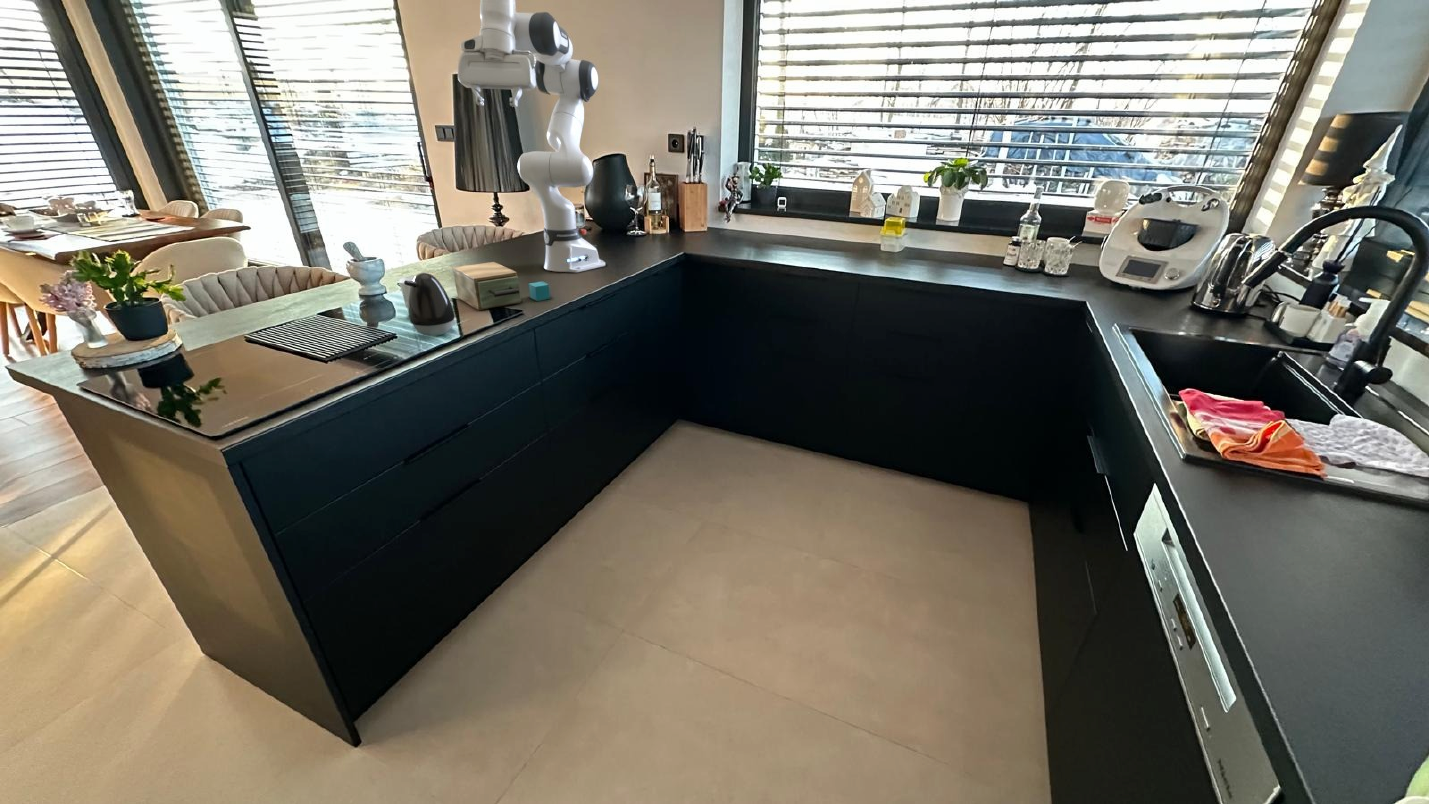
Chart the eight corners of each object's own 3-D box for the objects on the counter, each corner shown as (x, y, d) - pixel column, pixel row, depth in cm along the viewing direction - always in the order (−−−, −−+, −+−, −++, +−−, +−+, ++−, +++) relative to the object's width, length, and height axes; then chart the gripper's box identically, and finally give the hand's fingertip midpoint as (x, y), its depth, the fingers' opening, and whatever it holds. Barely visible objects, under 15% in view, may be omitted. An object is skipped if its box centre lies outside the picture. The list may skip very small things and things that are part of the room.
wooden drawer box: (520, 302, 165) (516, 272, 161) (478, 310, 158) (473, 278, 154) (498, 290, 175) (494, 261, 171) (457, 297, 168) (452, 267, 164)
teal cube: (543, 295, 173) (541, 281, 171) (550, 298, 170) (548, 284, 168) (530, 297, 170) (528, 283, 168) (536, 301, 167) (535, 286, 165)
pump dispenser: (403, 334, 139) (389, 274, 132) (439, 323, 147) (427, 265, 140) (430, 342, 135) (418, 280, 128) (466, 330, 143) (455, 271, 136)
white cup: (432, 309, 157) (425, 274, 152) (443, 316, 152) (436, 280, 147) (402, 315, 152) (394, 279, 147) (413, 322, 147) (405, 285, 142)
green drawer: (528, 305, 161) (525, 280, 157) (489, 312, 154) (485, 286, 150) (499, 290, 173) (496, 266, 170) (462, 296, 166) (458, 272, 163)
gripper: (540, 56, 148) (539, 111, 150) (467, 54, 150) (467, 108, 152) (530, 44, 142) (528, 102, 144) (454, 42, 144) (454, 99, 146)
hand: (496, 105), depth 148 cm, fingers open, 8 cm apart
